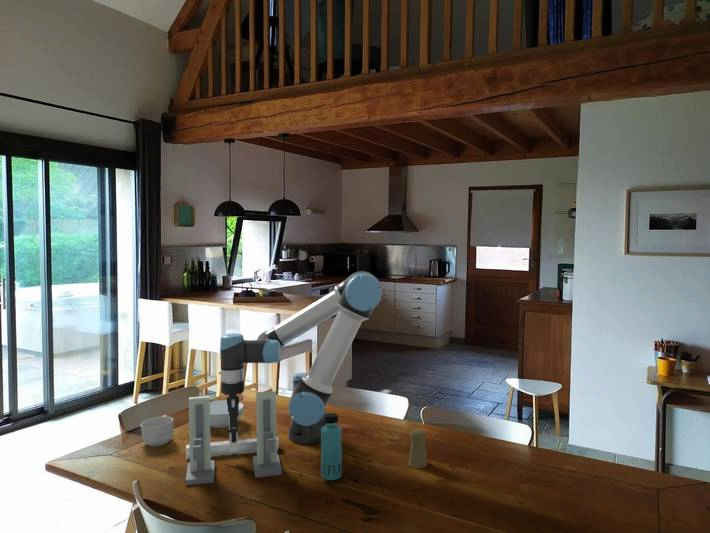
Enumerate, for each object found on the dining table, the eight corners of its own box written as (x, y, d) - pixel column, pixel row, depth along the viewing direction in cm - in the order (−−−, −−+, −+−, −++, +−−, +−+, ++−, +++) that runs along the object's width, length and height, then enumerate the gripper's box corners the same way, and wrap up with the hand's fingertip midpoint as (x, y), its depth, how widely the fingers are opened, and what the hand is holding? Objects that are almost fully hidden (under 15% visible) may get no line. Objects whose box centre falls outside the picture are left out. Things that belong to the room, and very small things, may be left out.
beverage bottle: (326, 487, 151) (325, 419, 150) (316, 477, 157) (316, 412, 156) (346, 482, 154) (346, 416, 153) (336, 473, 160) (336, 409, 159)
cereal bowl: (237, 432, 193) (237, 414, 192) (193, 432, 193) (192, 414, 192) (247, 416, 210) (247, 399, 209) (206, 416, 210) (206, 399, 209)
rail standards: (277, 458, 171) (277, 386, 169) (285, 492, 149) (285, 409, 147) (188, 467, 164) (186, 392, 162) (182, 504, 142) (180, 417, 140)
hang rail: (277, 447, 180) (277, 436, 180) (278, 451, 177) (278, 439, 177) (186, 456, 173) (186, 444, 173) (186, 460, 170) (185, 448, 170)
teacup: (163, 451, 177) (162, 427, 176) (134, 448, 179) (133, 425, 178) (184, 435, 190) (183, 413, 190) (157, 433, 192) (157, 411, 192)
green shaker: (429, 461, 168) (430, 428, 167) (424, 469, 163) (424, 435, 162) (412, 458, 171) (412, 425, 170) (405, 465, 165) (406, 431, 165)
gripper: (221, 371, 185) (222, 430, 186) (220, 392, 161) (221, 459, 162) (242, 370, 187) (243, 428, 188) (245, 390, 162) (246, 457, 164)
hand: (233, 443), depth 175 cm, fingers open, 13 cm apart
